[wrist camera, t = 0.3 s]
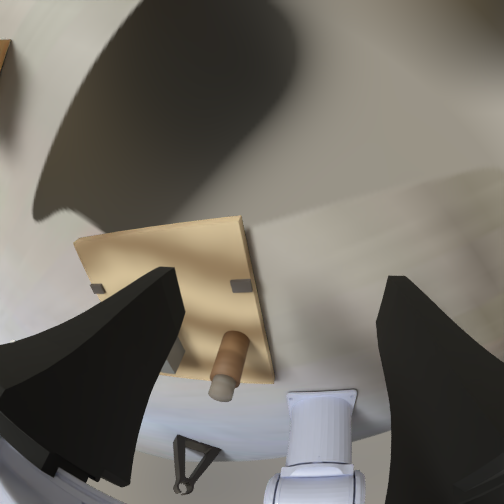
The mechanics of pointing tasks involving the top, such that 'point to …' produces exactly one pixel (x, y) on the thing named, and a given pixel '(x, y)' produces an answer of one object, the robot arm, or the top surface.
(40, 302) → the top surface
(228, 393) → the grey-capped wooden dowel
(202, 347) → the plywood board
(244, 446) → the top surface
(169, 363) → the block
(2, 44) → the small box
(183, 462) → the phone stand
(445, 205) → the top surface
